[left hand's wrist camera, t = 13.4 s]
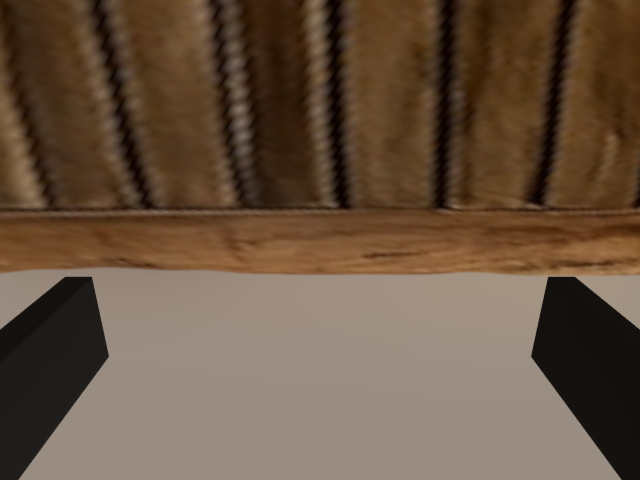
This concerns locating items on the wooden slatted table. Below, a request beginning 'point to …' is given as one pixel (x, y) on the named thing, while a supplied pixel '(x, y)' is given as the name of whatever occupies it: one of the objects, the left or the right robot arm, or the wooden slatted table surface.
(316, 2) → the wooden slatted table surface
